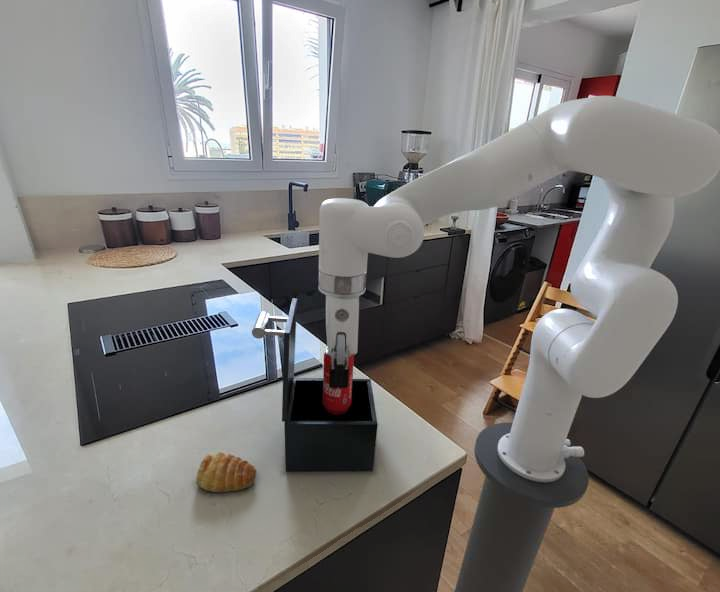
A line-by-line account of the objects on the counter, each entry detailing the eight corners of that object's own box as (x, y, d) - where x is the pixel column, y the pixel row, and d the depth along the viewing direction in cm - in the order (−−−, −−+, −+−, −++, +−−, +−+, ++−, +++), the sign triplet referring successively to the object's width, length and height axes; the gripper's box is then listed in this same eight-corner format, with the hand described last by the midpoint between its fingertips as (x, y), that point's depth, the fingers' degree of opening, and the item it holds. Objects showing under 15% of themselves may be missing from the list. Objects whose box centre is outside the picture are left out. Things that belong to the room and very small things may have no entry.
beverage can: (356, 411, 72) (359, 354, 67) (331, 419, 69) (332, 361, 64) (342, 395, 76) (344, 341, 71) (318, 403, 73) (318, 347, 68)
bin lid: (297, 298, 70) (261, 295, 69) (289, 333, 58) (246, 330, 57) (294, 376, 77) (261, 374, 76) (286, 421, 65) (248, 420, 64)
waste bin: (367, 421, 83) (370, 378, 78) (373, 471, 71) (377, 424, 66) (292, 421, 82) (291, 377, 77) (285, 472, 69) (284, 423, 65)
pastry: (261, 466, 70) (260, 450, 68) (249, 498, 64) (247, 481, 62) (209, 461, 70) (207, 445, 69) (192, 493, 64) (189, 476, 63)
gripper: (370, 302, 54) (362, 407, 62) (362, 265, 70) (356, 353, 78) (316, 300, 54) (315, 407, 62) (320, 263, 69) (318, 352, 77)
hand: (338, 376), depth 69 cm, fingers closed on beverage can, 5 cm apart
